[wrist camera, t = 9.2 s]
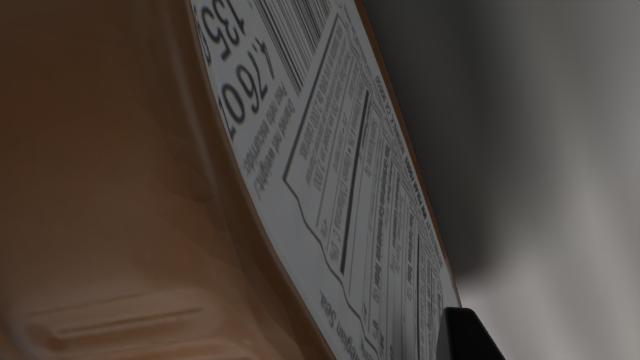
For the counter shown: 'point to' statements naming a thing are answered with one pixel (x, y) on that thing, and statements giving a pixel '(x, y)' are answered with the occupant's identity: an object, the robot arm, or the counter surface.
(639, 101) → the counter surface
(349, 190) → the tin
